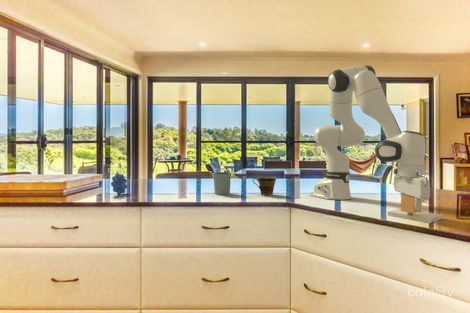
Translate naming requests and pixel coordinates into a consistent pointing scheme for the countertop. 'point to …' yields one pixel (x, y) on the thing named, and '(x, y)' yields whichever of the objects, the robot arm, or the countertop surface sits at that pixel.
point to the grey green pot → (222, 183)
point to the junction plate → (416, 215)
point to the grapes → (119, 183)
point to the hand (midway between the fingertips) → (410, 206)
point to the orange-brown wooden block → (408, 204)
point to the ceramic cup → (266, 185)
